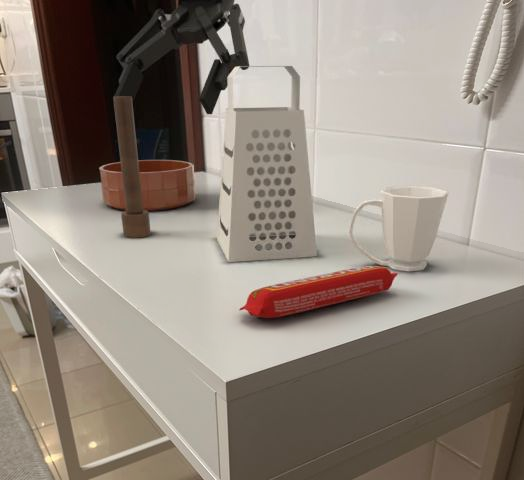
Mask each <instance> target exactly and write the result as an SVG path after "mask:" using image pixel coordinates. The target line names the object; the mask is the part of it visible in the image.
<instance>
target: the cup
mask: <svg viewBox="0 0 524 480" xmlns="http://www.w3.org/2000/svg"><path fill="white" fill-rule="evenodd" d="M379 192H380V199H378V198H377V199H367V200H365V201H363V202H361V203H360V204H359V205H358V206H357V207H356V208H355V209H354V211H353V213H352V217H351V219H350V225H349V232H348V233H349V237H350V240H351V243H352V244H353V246H354V247H355V248H356V250H357V251H358V252H360V253H361V254H362V255H363V256H365V257H366V258H367V259H369V260H370V261H371V262H372V263H373V262H374V263H375V264H378V265H379V266H382V267H388V268H390V269H393V270H395V271H401V272H417V271H423V270H424V269H425V268H426V267H427V265H428V263H427V262H426V261H425V260H426V259H428V257H429V255H430V253H431V250H432V248H433V246H434V243H435V240H436V238H437V235H438V231H439V227H440V224H441V220H442V217H443V214H444V209H445V207H446V203H447V199H448V196H449V191H447V190H443V189H440V188H437V187H433V186H421V185H419V186H418V185H400V186H398V185H397V186H388V187H386V188H385V189H384V188H383V189H382V190H380V191H379ZM366 206H374V207H379V208H381V222H382V224H381V225H382V238H383V243H384V249H385V255H386V256H387V257H389V259H388V260H381V259H379V258H377V257H375V256H373V255H372V254H370V253H369V252H367V251H366V250H365V249H364V248H362V246H360V245H359V244H358V242H357V241H356V240H355V237H354V235H353V230H354V224H355V222H356V218H357V216H358V214H359V213H360V212H361V211H362V209H363V208H364V207H366Z"/></svg>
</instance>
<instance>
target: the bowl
mask: <svg viewBox="0 0 524 480" xmlns="http://www.w3.org/2000/svg"><path fill="white" fill-rule="evenodd" d="M138 164H139V174H140V184H141V194H142V204H143V210H147V211H148V212H153V211H165V210H170V209H171V210H173V209H176V208H180V207H183V206H186V205H188V204H189V203H191V202H193V201H195V199H196V184H195V183H196V182H195V165H194V163H192V162H188V161H183V160H173V159H142V160H139V159H138ZM98 171H99V179H100V185H101V186H100V187H101V194H102V201H103V203H104V205H107V206H110V207H112V208H114V209H117V210H120V211H121V210H122V211H126V204H125V196H124V187H123V178H122V169H121V161H118V162H112V163H107V164H103V165H102V166H100V167H98Z"/></svg>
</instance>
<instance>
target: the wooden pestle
mask: <svg viewBox="0 0 524 480" xmlns="http://www.w3.org/2000/svg"><path fill="white" fill-rule="evenodd" d="M112 98H113V99H112V100H113V107H114V108H113V109H114V116H115V123H116V125H115V126H116V135H117V142H118V151H119V159H120V160H119V162H121V169H122V178H123V187H124V196H125V204H126V210H123V211H122V212H121V213H120V215H121V224H122V225H121V226H122V233H123V236H124V237H125V238H129V239H130V238H131V239H140V238H146V237H148V236H151V233H152V232H151V220H150V213H149V212H150V211H147V210H143V204H142V194H141V184H140V174H139V164H138V160H139V156H138V155H139V154H138V147H137V135H136V125H135V118H134V117H135V115H134V106H133V102H132V97H131V96H116V97H114V96H113V97H112Z"/></svg>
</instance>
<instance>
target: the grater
mask: <svg viewBox="0 0 524 480" xmlns="http://www.w3.org/2000/svg"><path fill="white" fill-rule="evenodd" d="M240 67H249V68H260V67H261V68H266V67H268V68H273V67H275V68H276V67H277V68H278V67H281V68H284V69H285V70H286V71H287V73H288V74H289V75H290V76H291V85H290V86H291V93H290V94H291V95H290V107H289V106H276V107H275V106H274V107H273V106H272V107H234V89H233V88H234V84H233V83H234V81H233V77H234V76H235V75H236V73H237V72H238V70H239V69H241V68H240ZM227 81H228V86H227V107H226V108H225V115H224V116H225V118H224V119H225V120H224V133H223V147H222V160H221V173H220V174H221V175H220V186H219V187H220V190H219V191H220V192H219V200H218V213H217V214H218V216H217V227H216V229H217V231H216V240H217V243H218V244H219V246H220V248H221V251H222V253H223V255H224V256H225V258H226V260H227V262H228V263H238V262H239V263H240V262H252V261H253V262H254V261H265V260H267V261H268V260H280V259H281V260H282V259H283V260H284V259H296V258H297V259H298V258H310V257H311V258H312V257H318V252H317V240H316V239H317V238H316V230H315V229H316V228H315V218H314V209H313V208H314V207H313V196H312V195H313V194H312V186H311V175H310V162H309V152H308V142H307V129H306V120H305V110H304V109H300V100H301V97H300V96H301V95H300V94H301V89H300V88H301V75H300V74H299V72H297V71H296V69H295V68H294V67H293V65H249V66H238V67H235V68H234V69H233V70H232V72H231V73H230V74H229V76H228V77H227ZM290 235H294V236H295V237H294V238H291V237H290ZM271 236H275V239H271V238H270V237H271ZM280 236H285V238H283V239H282V238H280ZM254 237H255V240H251V239H250V238H254ZM260 237H265V239H263V240H261V239H260ZM278 243H280V244H281V246H282V247H281V248H280V249H277V248H276V245H277V244H278ZM286 243H291V247H290V248H287V247H286ZM258 244H259V245H261V246H262V248H261V250H257V249H256V246H257V245H258ZM267 244H270V245H271V246H272V247H271V249H269V250H267V248H266V245H267Z"/></svg>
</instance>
